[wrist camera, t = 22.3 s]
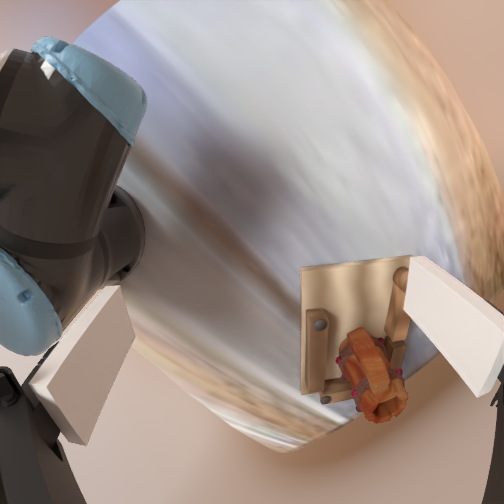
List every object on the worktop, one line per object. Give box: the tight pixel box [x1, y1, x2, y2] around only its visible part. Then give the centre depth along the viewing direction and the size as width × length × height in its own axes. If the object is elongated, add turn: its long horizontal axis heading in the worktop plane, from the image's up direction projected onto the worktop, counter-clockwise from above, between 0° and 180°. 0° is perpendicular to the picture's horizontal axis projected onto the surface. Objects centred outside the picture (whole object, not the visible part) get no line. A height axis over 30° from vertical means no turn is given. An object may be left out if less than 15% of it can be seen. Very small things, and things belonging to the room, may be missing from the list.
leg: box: [384, 267, 411, 342], centre depth 40 cm, size 11×3×4 cm, turn 1°
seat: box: [300, 255, 413, 405], centre depth 43 cm, size 18×24×5 cm
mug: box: [335, 327, 408, 423], centre depth 37 cm, size 15×8×15 cm, turn 25°
